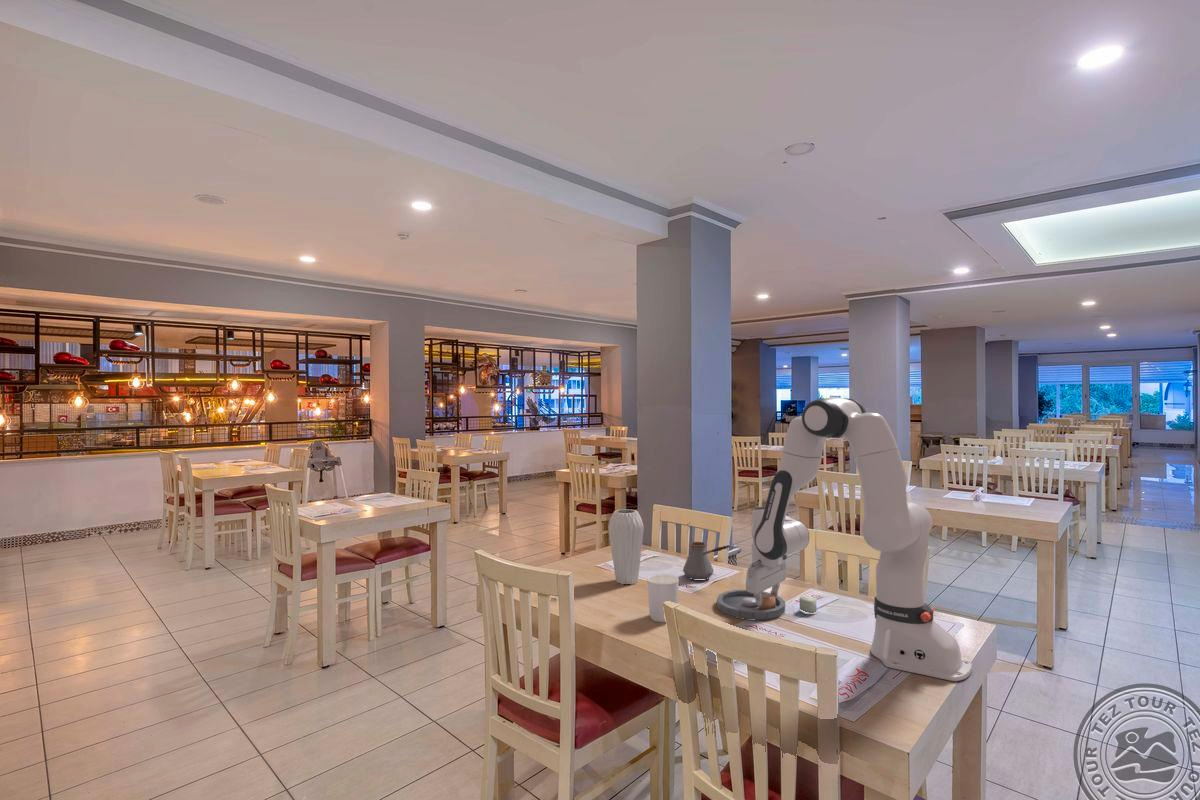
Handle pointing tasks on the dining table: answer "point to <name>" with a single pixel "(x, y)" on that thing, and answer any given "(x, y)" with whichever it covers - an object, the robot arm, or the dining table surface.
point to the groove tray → (744, 612)
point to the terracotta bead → (767, 602)
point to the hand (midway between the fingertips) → (767, 600)
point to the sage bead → (808, 604)
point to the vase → (626, 544)
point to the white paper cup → (661, 594)
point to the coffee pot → (699, 561)
